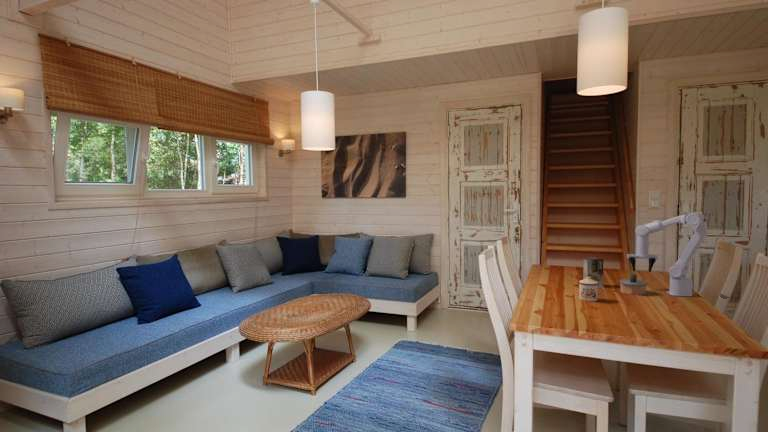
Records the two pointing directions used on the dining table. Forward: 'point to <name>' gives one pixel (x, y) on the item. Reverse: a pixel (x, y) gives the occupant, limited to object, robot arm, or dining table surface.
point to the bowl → (633, 289)
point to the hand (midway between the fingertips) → (641, 271)
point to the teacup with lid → (589, 289)
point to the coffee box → (593, 269)
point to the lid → (633, 281)
